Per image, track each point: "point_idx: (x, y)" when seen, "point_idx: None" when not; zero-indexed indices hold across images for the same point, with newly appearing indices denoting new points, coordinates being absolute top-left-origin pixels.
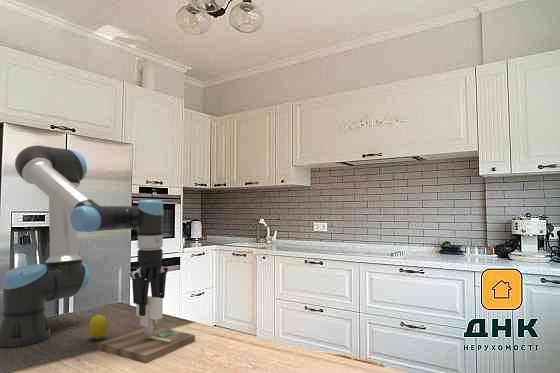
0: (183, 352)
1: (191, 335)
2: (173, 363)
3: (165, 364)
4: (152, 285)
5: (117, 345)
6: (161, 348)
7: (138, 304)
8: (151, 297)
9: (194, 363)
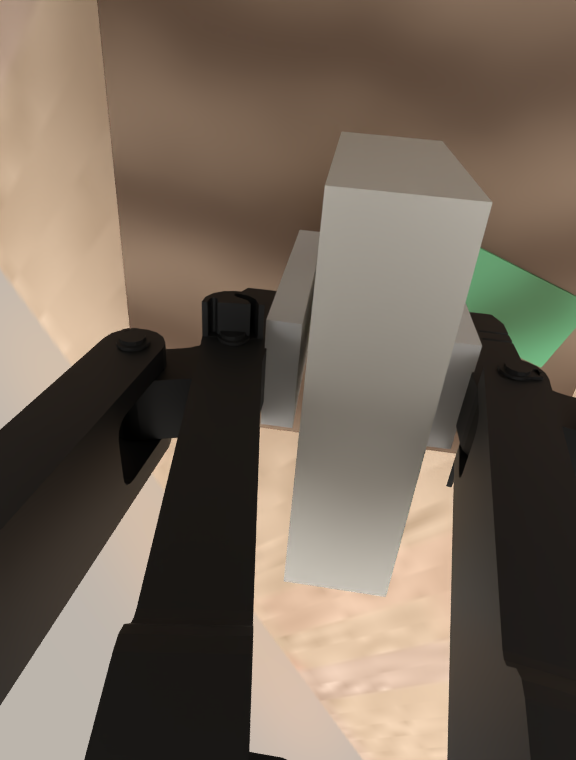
0: None
1: None
2: None
3: None
4: (477, 595)
5: (147, 111)
6: None
7: (192, 349)
8: (370, 465)
9: (261, 553)
